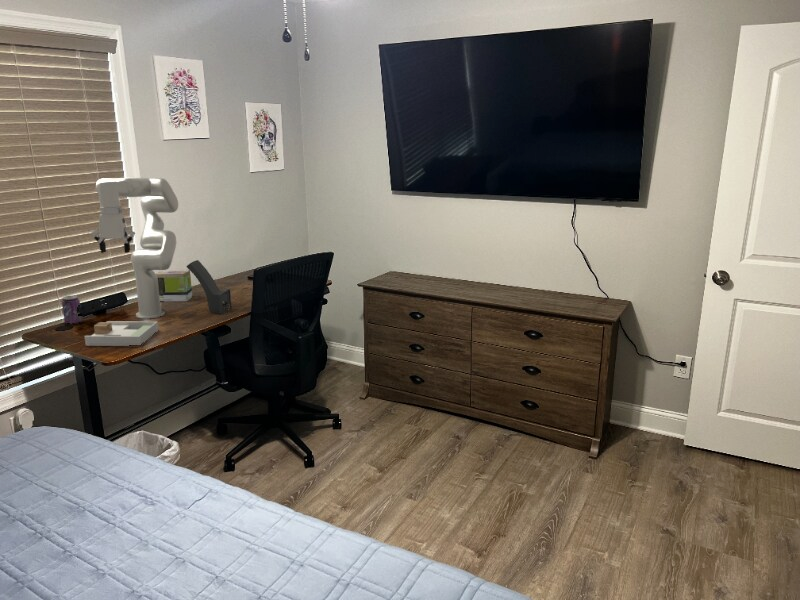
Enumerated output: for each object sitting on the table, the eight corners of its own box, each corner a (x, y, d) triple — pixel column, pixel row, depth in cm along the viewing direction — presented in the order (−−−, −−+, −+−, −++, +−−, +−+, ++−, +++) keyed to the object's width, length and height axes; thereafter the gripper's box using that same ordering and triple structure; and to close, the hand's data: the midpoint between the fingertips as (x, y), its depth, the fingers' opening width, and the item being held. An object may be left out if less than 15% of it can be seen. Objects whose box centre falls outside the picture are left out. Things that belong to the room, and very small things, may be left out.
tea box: (192, 296, 317) (190, 269, 313) (187, 302, 308) (184, 273, 304) (164, 296, 317) (161, 269, 313) (157, 302, 307) (154, 273, 303)
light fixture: (199, 306, 300) (195, 258, 293) (232, 308, 297) (228, 260, 291) (188, 312, 290) (184, 263, 283) (222, 314, 287) (218, 265, 280)
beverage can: (62, 322, 273) (58, 297, 270) (78, 319, 278) (75, 294, 275) (68, 326, 269) (64, 300, 265) (85, 322, 274) (81, 297, 271)
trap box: (108, 329, 264) (107, 321, 263) (158, 330, 264) (157, 321, 263) (85, 345, 245) (84, 336, 244) (140, 346, 245) (139, 336, 244)
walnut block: (100, 330, 256) (99, 322, 255) (112, 330, 256) (111, 322, 255) (94, 333, 251) (93, 325, 250) (107, 333, 251) (106, 325, 251)
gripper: (135, 210, 251) (139, 250, 256) (93, 209, 251) (98, 250, 255) (128, 212, 244) (132, 254, 248) (85, 212, 243) (90, 253, 248)
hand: (115, 252), depth 252 cm, fingers open, 9 cm apart
